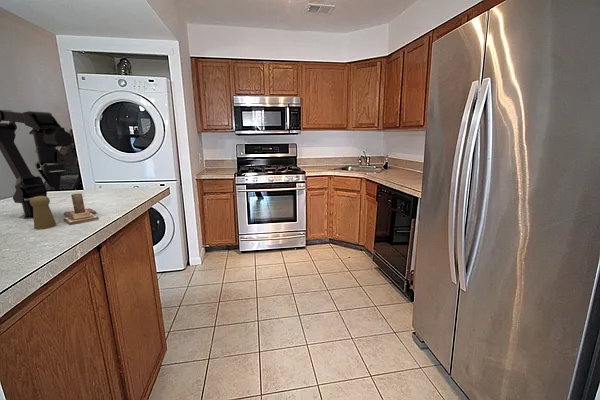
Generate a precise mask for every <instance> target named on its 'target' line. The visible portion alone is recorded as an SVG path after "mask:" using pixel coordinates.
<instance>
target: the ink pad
mask: <svg viewBox="0 0 600 400" xmlns="http://www.w3.org/2000/svg"><path fill="white" fill-rule="evenodd" d="M85 210H87V211H89V212H90V213H92V214H94V215H97V214H98V213H97V211H96V210H95V209H93V208H90V207H88V208H85ZM72 212H75V211H74V210H71V211H66V212H63V215H64V216H65V218H67V217H71V214H70V213H72Z"/></svg>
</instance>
